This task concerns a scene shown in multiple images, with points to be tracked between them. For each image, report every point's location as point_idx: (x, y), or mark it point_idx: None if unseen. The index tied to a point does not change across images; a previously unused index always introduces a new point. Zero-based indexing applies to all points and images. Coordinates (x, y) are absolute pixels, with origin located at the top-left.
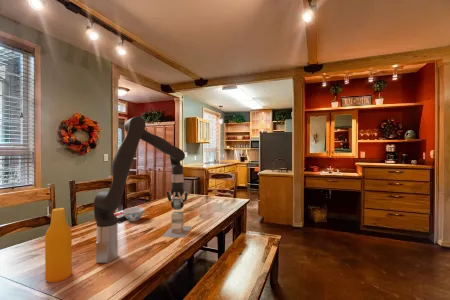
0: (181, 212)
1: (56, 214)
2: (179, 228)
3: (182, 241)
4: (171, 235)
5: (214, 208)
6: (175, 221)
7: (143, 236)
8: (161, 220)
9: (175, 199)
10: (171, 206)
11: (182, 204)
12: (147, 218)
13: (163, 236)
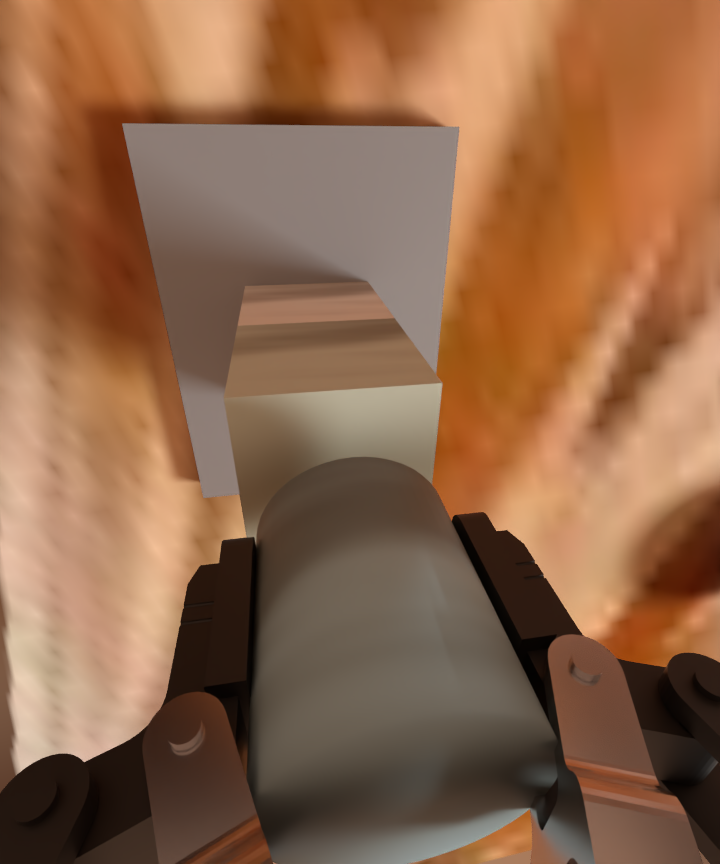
0: (259, 494)
1: None
2: (263, 301)
3: (135, 66)
4: (339, 186)
5: None
6: (334, 332)
7: (668, 195)
8: None
9: (487, 775)
10: (516, 538)
11: (197, 634)
12: (663, 593)
13: (435, 134)
